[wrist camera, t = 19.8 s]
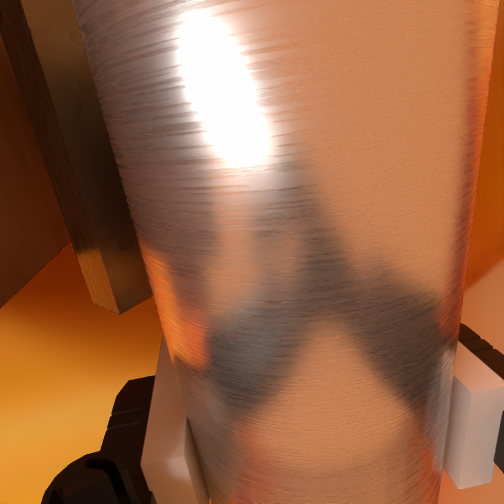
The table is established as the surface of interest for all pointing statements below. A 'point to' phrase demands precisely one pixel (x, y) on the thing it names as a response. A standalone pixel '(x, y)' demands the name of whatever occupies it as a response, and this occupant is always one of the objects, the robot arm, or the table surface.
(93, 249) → the v block
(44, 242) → the brown open box
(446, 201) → the axle
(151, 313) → the table surface
